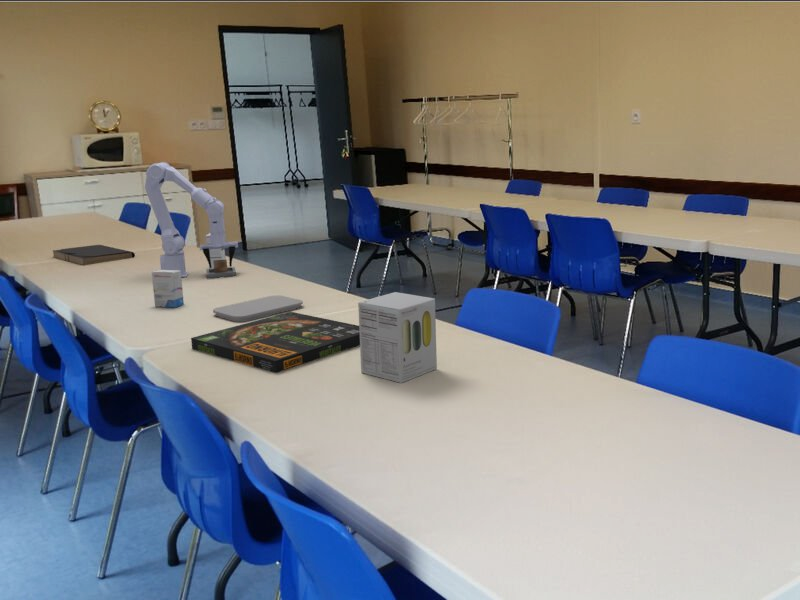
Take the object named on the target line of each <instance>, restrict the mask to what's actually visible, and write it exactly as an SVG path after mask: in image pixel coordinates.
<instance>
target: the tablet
mask: <svg viewBox="0 0 800 600" xmlns="http://www.w3.org/2000/svg"><path fill="white" fill-rule="evenodd" d="M301 305H303V300H301V299H298V298H293V297H289V296H285V295H280V294H279V295H269V296H265V297H264V296H263V297H259V298H255V299H250V300H247V301H242V302H236V303H233V304H228V305H224V306H219V307H215V308H213V309H212V313H214V314H215V316H216V317H217V316H219V317H218V318H221V317H222V318H221V319H224V318H226V319H225V320H228V319H229V320H228V321H231V320H232V322H235V321H237V322H236V323H242V322H243V321H244V322H248V320H249V321H253V320H256V318H257V319H261V318H264V316H265V317H268V316H267V315H269V316H272V315H271V314H274V315H276V314H275V313H278V314H280V313H279V312H282V313H285V312H284V311H286V312H288V311H287V310H290V311H293V310H292V309H294V310H296V309H295V308H298V309H300V308H299V307H301V308H302V306H301ZM260 317H261V318H260ZM252 319H253V320H252ZM244 322H243V323H244Z"/></svg>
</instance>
